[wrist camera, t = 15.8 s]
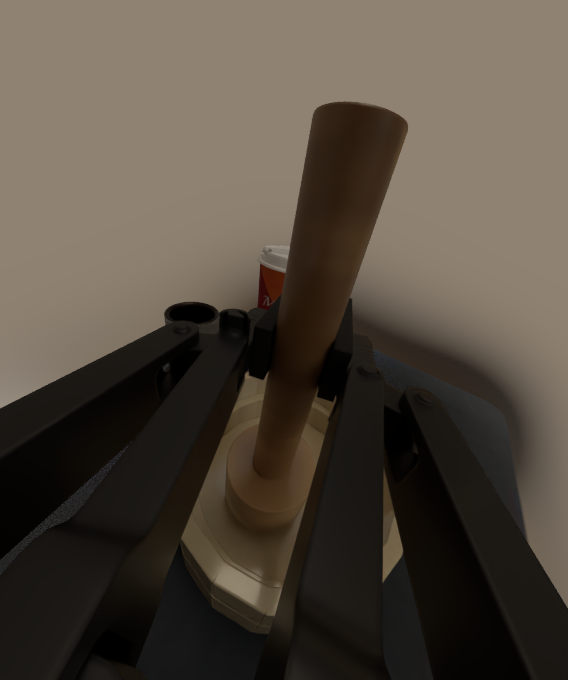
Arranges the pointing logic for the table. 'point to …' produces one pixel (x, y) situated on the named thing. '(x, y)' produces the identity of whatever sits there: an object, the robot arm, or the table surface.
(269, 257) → the coffee cup
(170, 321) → the dark grey hollow cylinder
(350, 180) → the brown tall rod post
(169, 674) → the table surface
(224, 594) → the bowl
